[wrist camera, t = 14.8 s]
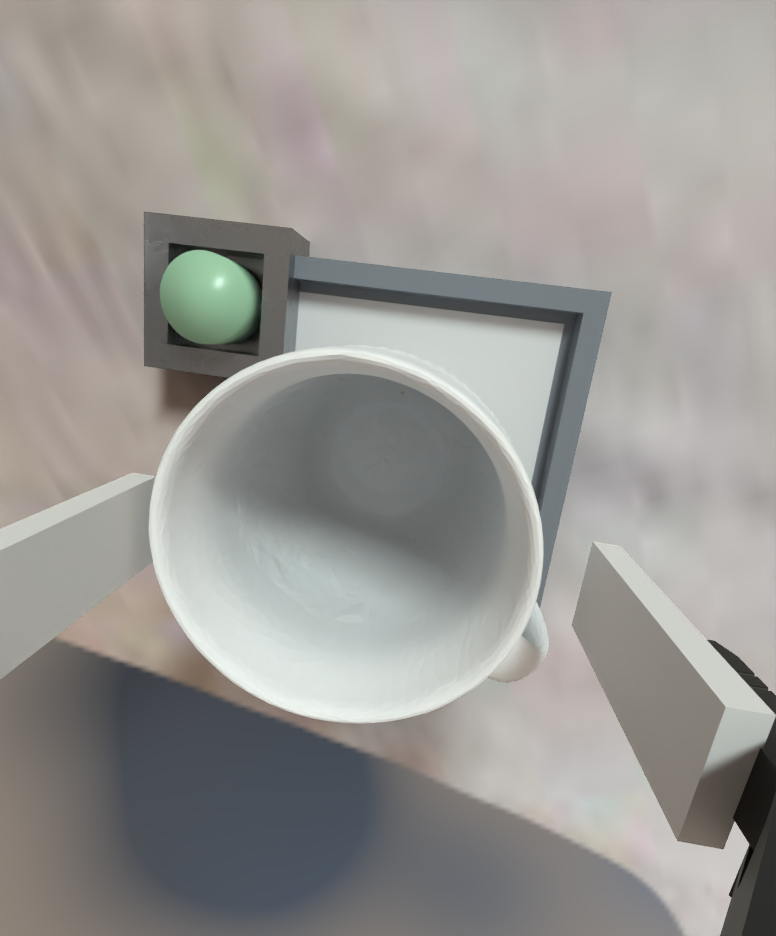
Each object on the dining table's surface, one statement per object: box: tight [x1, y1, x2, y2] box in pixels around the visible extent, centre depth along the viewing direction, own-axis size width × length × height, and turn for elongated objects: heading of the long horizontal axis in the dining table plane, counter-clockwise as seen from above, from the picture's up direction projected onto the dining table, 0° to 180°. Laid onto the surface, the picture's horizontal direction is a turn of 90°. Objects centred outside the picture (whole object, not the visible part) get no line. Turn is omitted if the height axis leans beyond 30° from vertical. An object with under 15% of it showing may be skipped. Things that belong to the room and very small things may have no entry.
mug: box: [149, 345, 549, 724], centre depth 20 cm, size 15×11×13 cm
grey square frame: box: [144, 212, 310, 378], centre depth 24 cm, size 7×7×3 cm
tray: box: [294, 255, 612, 608], centre depth 26 cm, size 16×19×2 cm
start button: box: [160, 250, 262, 344], centre depth 23 cm, size 4×4×2 cm
